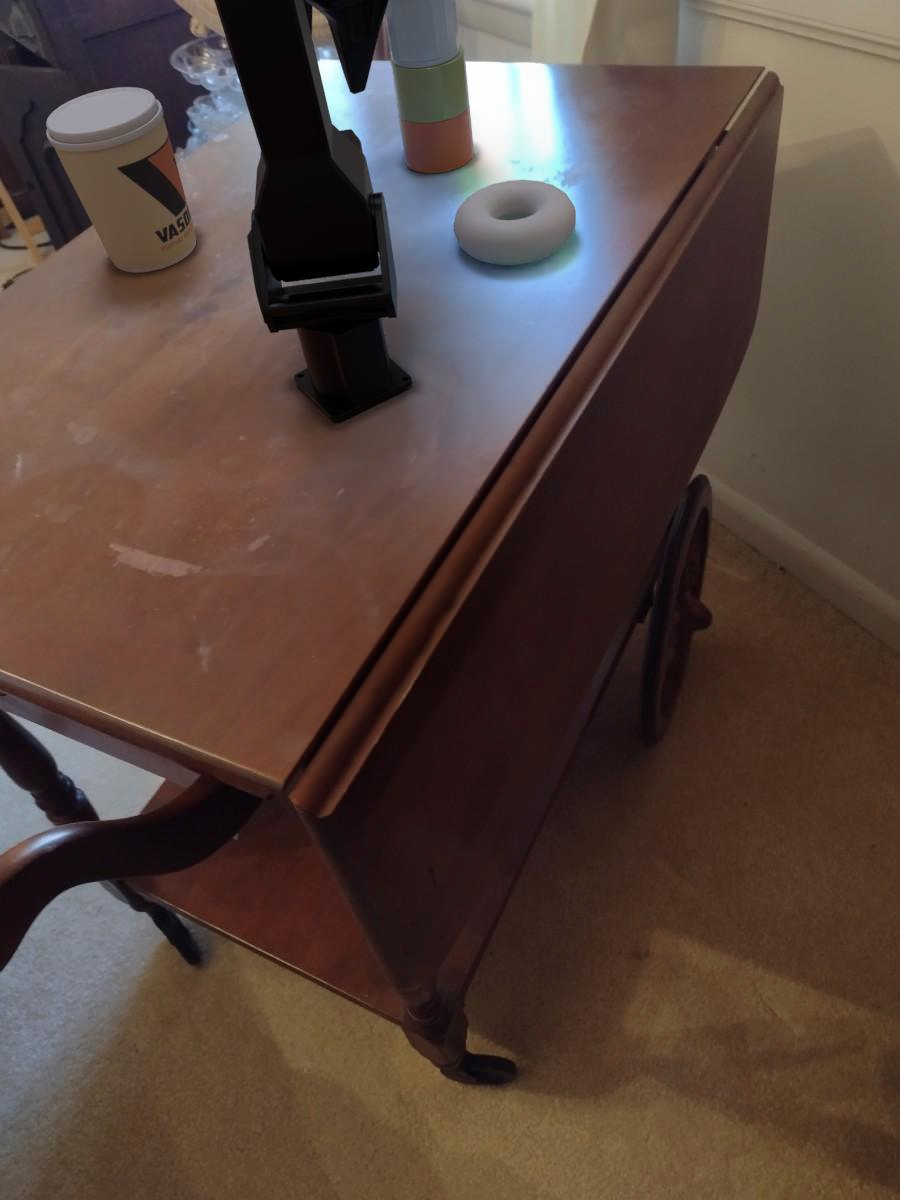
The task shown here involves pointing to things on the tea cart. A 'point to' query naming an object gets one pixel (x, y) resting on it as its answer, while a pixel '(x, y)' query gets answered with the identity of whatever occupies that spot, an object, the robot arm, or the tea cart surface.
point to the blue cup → (422, 32)
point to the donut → (514, 222)
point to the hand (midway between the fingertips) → (329, 76)
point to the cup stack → (434, 115)
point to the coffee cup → (125, 176)
